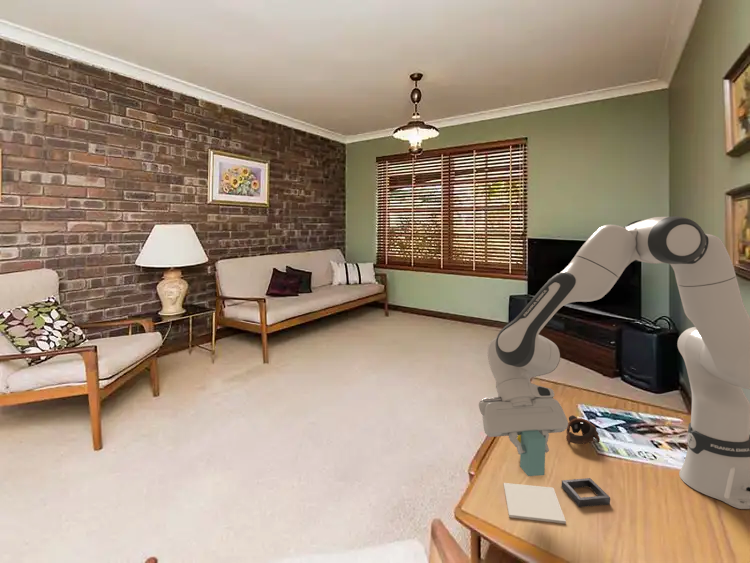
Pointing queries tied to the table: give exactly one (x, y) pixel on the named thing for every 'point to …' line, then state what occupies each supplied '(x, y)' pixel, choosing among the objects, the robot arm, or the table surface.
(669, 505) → the table surface
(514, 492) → the white mat
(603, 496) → the metal cradle
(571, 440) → the pottery mug
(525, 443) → the teal block
